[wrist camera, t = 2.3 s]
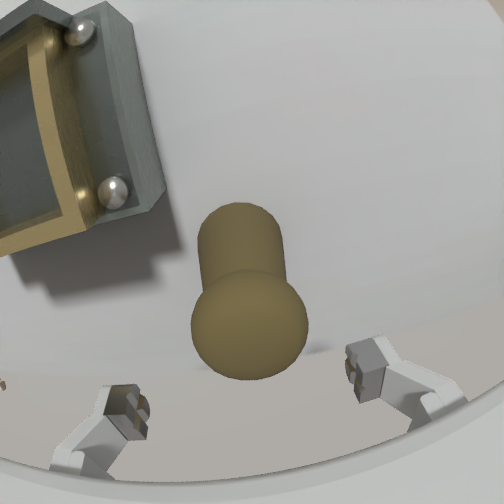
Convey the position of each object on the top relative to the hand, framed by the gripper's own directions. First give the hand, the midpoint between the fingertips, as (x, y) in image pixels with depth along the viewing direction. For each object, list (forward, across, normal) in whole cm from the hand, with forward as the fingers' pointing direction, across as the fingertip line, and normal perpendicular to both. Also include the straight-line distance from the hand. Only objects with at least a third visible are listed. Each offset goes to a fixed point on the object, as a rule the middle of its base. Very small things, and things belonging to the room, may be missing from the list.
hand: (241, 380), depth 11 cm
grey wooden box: (+12, +11, -11) cm, 20 cm away
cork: (+12, -1, 0) cm, 13 cm away
